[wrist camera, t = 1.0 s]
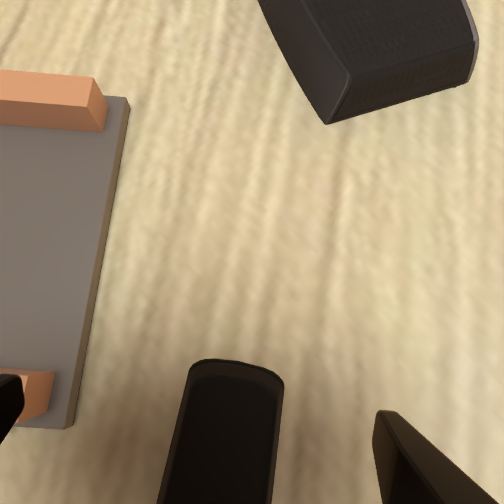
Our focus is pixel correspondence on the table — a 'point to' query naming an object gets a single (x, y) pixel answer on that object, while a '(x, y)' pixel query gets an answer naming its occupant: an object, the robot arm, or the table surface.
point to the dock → (53, 230)
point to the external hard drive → (373, 50)
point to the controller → (225, 436)
